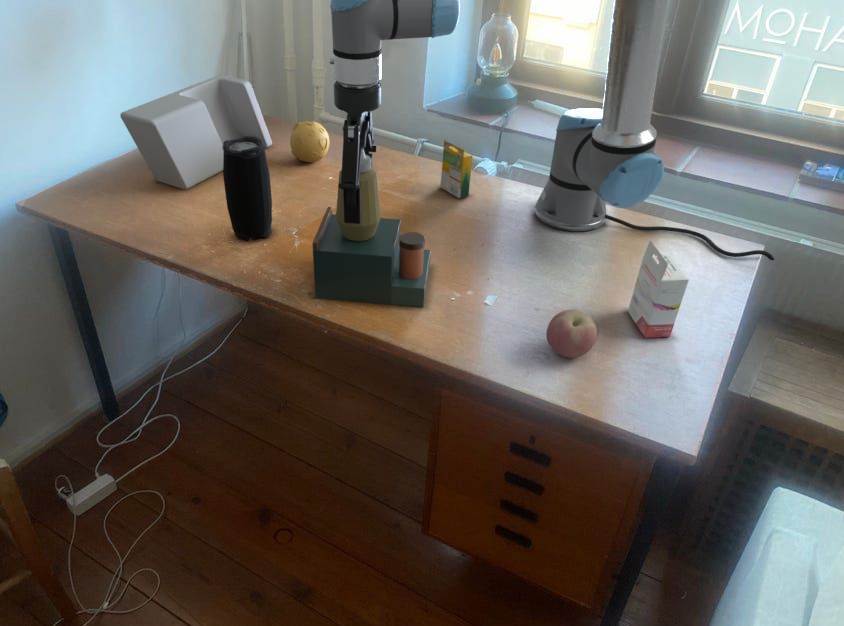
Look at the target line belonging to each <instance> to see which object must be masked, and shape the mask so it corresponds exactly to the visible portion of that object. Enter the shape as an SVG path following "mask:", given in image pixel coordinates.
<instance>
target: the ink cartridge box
mask: <svg viewBox="0 0 844 626" xmlns="http://www.w3.org/2000/svg"><path fill="white" fill-rule="evenodd" d="M689 281H690V280H689V277H688V276H687V275H686V273H685V272H684V271H683V270H682V269H681V267H680V266H679V265H678V264H677V262H676V261H675V259H674V258H673V257H672V256H671V255H670V254H662V253H661V252H660V250H659V249H658V248H657V246H656V245H655V244H654V243H653V241H652V240H649V242H648V244H647V247H646V249H645V251H644V254H643V256H642V260H641V263H640V267H639V270H638V273H637V277H636V280H635V284H634V288H633V292H632V295H631V298H630V302H629V306H628V309H627V312H628V314H629V315H630V317H631V319H632V320H633V322H634V323H635V325H636V326H637V328H638V330H639V331H640V333H641V335H642V336H643V338H645V339H646V338H647V339H649V338H670V337H671V335H672V332H673V329H674V326H675V323H676V319H677V316H678V314H679V311H680V308H681V304H682V302H683V298H684V296H685V293H686V290H687V287H688V285H689Z"/></svg>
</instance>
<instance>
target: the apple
mask: <svg viewBox="0 0 844 626" xmlns="http://www.w3.org/2000/svg"><path fill="white" fill-rule="evenodd" d="M545 335H546V336H545V338H546V341H547V343H548V345H549V346H550V348H551V349H552V350H553V352H554V353H556V354H558V355H559V356H561V357H563V358H569V359H575V358H579V357H582V356H584V355H586V354H587V353H588V352H590V351H591V350H592V349H593V348H594V346H595V344H596V340H597V336H598V333H597V326H596V323H595V321H594V319H593V318H592V317H591V316H590V315H589V313H586V312H584V311H582V310H579V309H566V310H562V311H560V312H558V313H557V314H555V315H554V316H553V317H552V318H551V319H550V321H549V323H548V325H547V328H546V333H545Z"/></svg>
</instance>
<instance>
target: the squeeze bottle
mask: <svg viewBox="0 0 844 626" xmlns="http://www.w3.org/2000/svg"><path fill="white" fill-rule="evenodd" d="M341 175H342V169H341V170H340V171H339V174H338V183H341ZM359 186H360V202H361V223H360V224H354V223H344V194H343V190H342V189H341V188H339V187H338V186H337V200H336V210H335V215H336V219H337V222H338V225H339V227H340V230H341V232H342V235H343V236H344V237H345V238H347V239H349V240H353V241H364V240H368V239H370V238H372V237H373V236H374V234H375V231H376V229H377V226H378V223H379V221H380V218H381V206H380V205H381V204H380V194H379V183H378V174H377V171H376V170H375V169H374V168H373V167H372V168H371V158H370V156H368V155H365V153H364V149H362V156H361V167H360V177H359Z"/></svg>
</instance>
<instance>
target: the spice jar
mask: <svg viewBox="0 0 844 626" xmlns="http://www.w3.org/2000/svg"><path fill="white" fill-rule="evenodd" d="M399 245H400V249H399V274H400V276H402V277H403V278H406V279H416V278H419V277H421V276H422V274H423V258H424V250H425V245H426V237H425V235H423V234H422V233H420V232H417V231H407V232H403V233H402V234H400V237H399Z"/></svg>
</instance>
